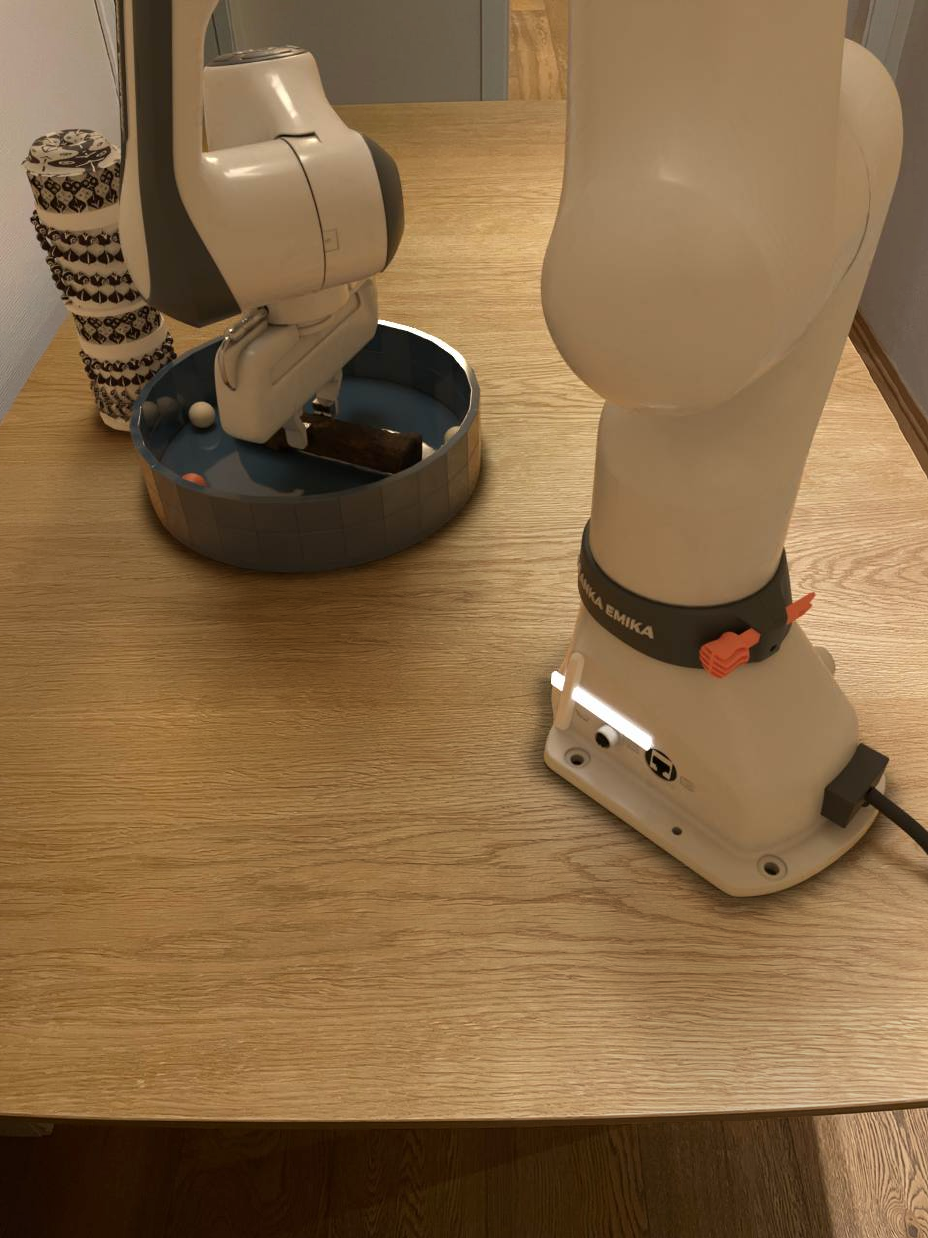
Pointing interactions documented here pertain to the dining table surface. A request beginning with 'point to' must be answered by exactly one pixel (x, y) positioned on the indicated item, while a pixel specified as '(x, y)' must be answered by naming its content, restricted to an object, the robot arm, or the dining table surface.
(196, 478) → the ball
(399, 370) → the bowl
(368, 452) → the hand tool
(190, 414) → the ball
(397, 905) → the dining table surface
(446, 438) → the ball
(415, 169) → the dining table surface
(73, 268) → the decorative candle
